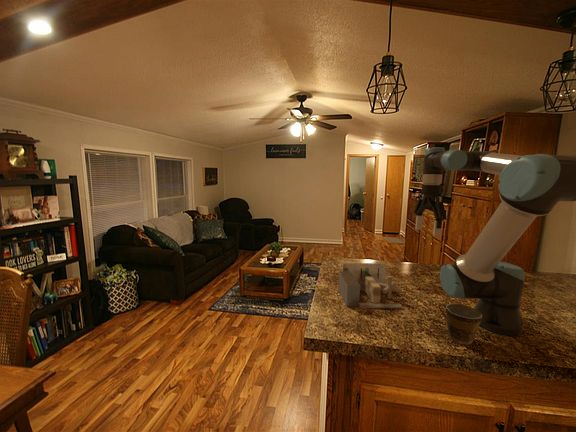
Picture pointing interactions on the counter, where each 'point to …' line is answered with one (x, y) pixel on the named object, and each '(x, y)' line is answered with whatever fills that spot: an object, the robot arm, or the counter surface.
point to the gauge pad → (372, 289)
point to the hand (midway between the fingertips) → (427, 232)
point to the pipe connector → (389, 287)
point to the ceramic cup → (462, 322)
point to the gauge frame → (361, 283)
